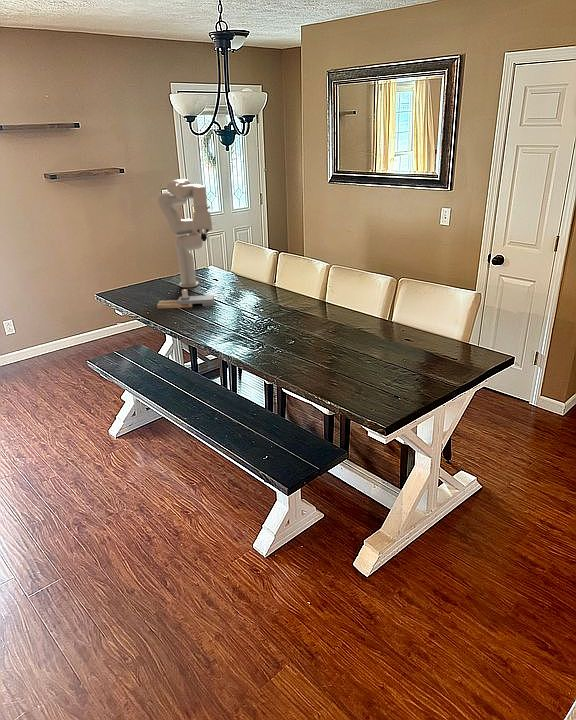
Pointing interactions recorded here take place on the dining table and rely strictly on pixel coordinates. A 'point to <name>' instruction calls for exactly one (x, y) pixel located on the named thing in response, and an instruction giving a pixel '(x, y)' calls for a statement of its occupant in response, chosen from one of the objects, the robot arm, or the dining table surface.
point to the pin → (185, 294)
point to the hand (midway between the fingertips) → (204, 240)
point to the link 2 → (198, 300)
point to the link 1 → (171, 304)
